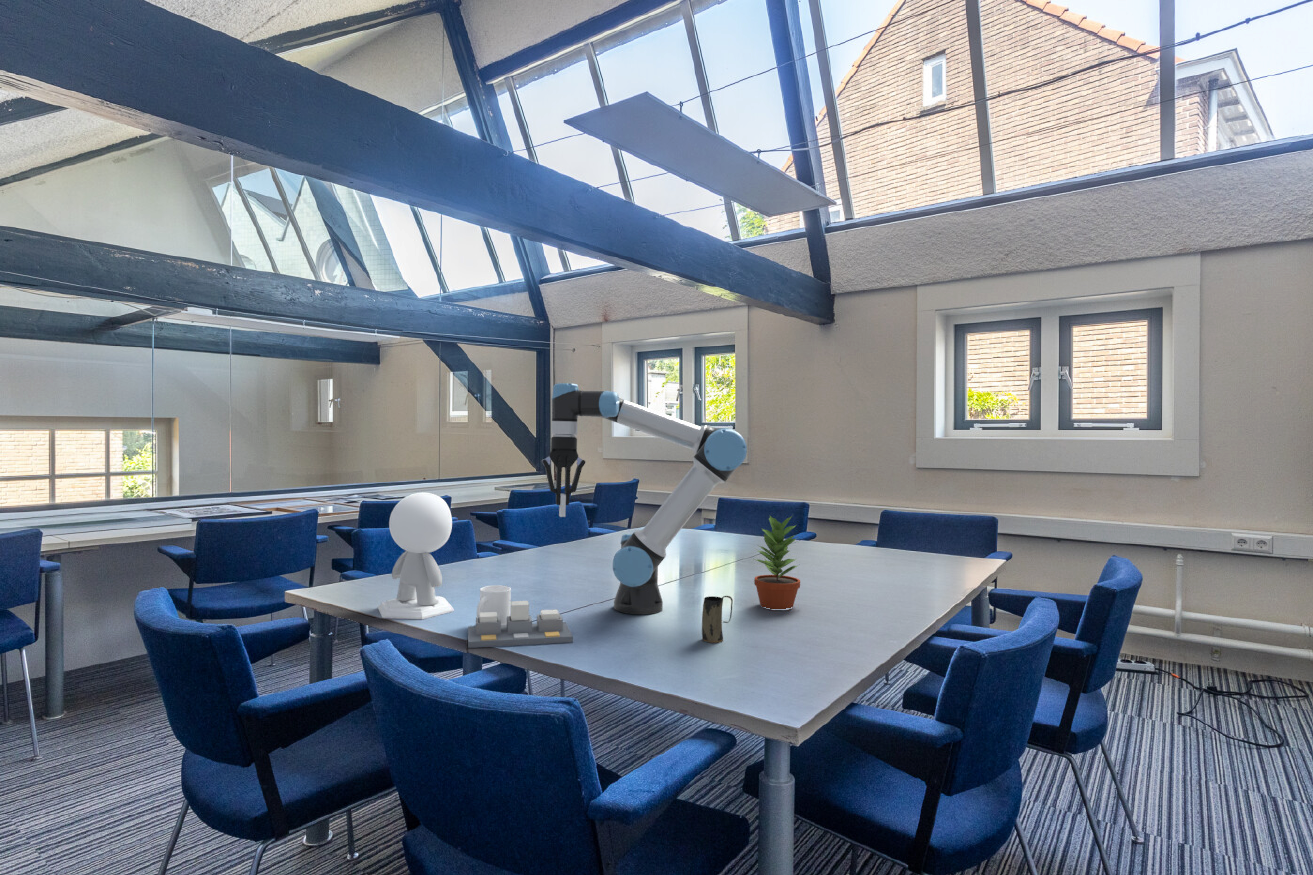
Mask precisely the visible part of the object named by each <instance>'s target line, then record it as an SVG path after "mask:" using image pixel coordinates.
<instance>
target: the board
mask: <svg viewBox="0 0 1313 875" xmlns="http://www.w3.org/2000/svg"><path fill="white" fill-rule="evenodd" d="M567 624H568V623H566V622H565V621H564V619H563V617H562V615H561V613H559V619H554V620H541V614H536V623H535V622H534V623H533V619H532V616H531V614H529V620H516V621H511V617H510V616H507V625H501V620H500V616H497V622H487V623H479V617H477V616H476V617H475V625H473V626H472V625H471V626H468V627H467V649H473V648H474V649H475V648H477V649H478V648H490V647H491V648H492V647H495V648H496V647H509V646H510V647H511V646H513V647H514V646H529V645H530V646H531V645H546V644H548V645H549V644H567V643H570V644H571V643H573V642H574V641H573V640H574V639H573V638H574V637H573V634H572V632H571V630H570V628H569V626H568V625H567Z"/></svg>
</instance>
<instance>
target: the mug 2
mask: <svg viewBox="0 0 1313 875" xmlns="http://www.w3.org/2000/svg"><path fill="white" fill-rule="evenodd" d="M724 598H728V599H730V601H731V602H730V612H729V613H730V614H729V620H728V621H726V620H725V621H724V620H723V603H724ZM733 602H734V601H733V598H732V596H730V595H723V596H722V597H720V596H705V597H704V598H703V604H702V614H701V616H702V617H701V635H702V636H701V637H702V639H701V640H702V641H703V642H704V641H705V642H704V643H707V642H709V643H708V644H720V643H719V642H721V643H723V642H724V636H723V623H725V624H728V623H729V622H731V619H732V614H733ZM722 641H723V642H722Z"/></svg>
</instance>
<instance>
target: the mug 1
mask: <svg viewBox="0 0 1313 875" xmlns="http://www.w3.org/2000/svg"><path fill="white" fill-rule="evenodd" d="M511 594H512V588H511V587H510V586H506V585H487V586H483V587H480V588H479V601H478V603H477V607H476V617H480V613H484V612H497V616H500V620H501V625H507V616H510V613H511V600H512V598H511V596H512V595H511Z"/></svg>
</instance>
